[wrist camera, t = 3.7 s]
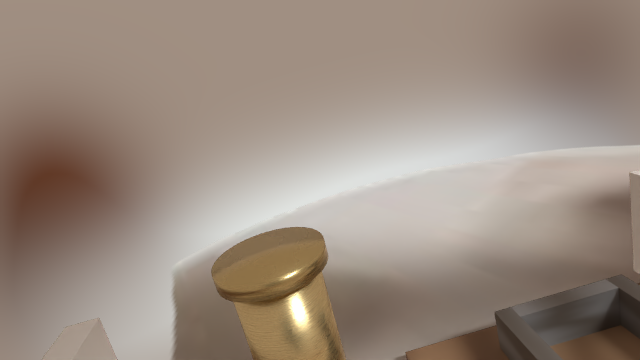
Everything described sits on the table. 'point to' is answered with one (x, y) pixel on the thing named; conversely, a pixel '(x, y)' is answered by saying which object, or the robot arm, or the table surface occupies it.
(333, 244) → the table surface
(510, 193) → the table surface
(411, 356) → the wooden board with frame
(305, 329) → the brass fitting
